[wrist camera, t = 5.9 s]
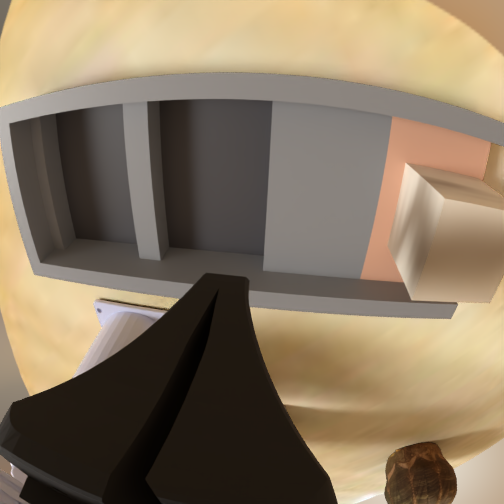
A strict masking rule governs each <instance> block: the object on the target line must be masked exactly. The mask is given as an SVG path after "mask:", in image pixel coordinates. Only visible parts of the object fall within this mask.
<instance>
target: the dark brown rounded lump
mask: <svg viewBox="0 0 504 504" xmlns="http://www.w3.org/2000/svg"><path fill="white" fill-rule="evenodd" d="M385 471H386V479H387V483H386V487H385V492H384V493H385V498H386V501H387V503H388V504H451V503H452V502H453V500H454V498H455V495H456V492H457V479H456V475H455V473H454V469H453V468H452V466H451V465H450V464H449V463H448V462H447V461H446V459H445V458H444V457H443V455H442V452H441V450H440V448H439V447H438V446H437V445H436V444H434V443H430V442H427V443H418V444H414V445H411V446H407V447H404V448H401V449H398V450H396V452H394V453H393V454H392V455H391V456H390V457H389V458H388V461H387V464H386V470H385Z"/></svg>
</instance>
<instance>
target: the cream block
mask: <svg viewBox="0 0 504 504" xmlns="http://www.w3.org/2000/svg"><path fill="white" fill-rule="evenodd" d="M387 246H388V248H389V250H390V252H391V254H392V257H393V259H394V261H395V263H396V265H397V268H398V270H399V272H400V274H401V277H402V279H403V281H404V283H405V286H406V288H407V291H408V293H409V295H410V298H411V300H417V301H439V302H466V303H490V302H491V300H492V298H493V296H494V294H495V292H496V290H497V288H498V286H499V284H500V282H501V280H502V278H503V275H504V197H503V196H502V195H500V194H499V193H498V192H497V191H495V190H494V189H493V188H491V187H490V186H489V185H487V184H486V183H485V182H483V181H482V180H480V179H479V178H476V177H472V176H467V175H463V174H459V173H454V172H450V171H445V170H441V169H436V168H431V167H426V166H421V165H416V164H410V163H405V169H404V174H403V179H402V184H401V189H400V194H399V198H398V203H397V207H396V212H395V216H394V220H393V224H392V229H391V233H390V237H389V240H388V244H387Z"/></svg>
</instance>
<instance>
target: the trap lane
mask: <svg viewBox="0 0 504 504" xmlns="http://www.w3.org/2000/svg"><path fill="white" fill-rule="evenodd" d="M0 142H1V149H2V155H3V161H4V166H5V172H6V177H7V182H8V186H9V191H10V195H11V199H12V204H13V208H14V211H15V215H16V219H17V223H18V226H19V230H20V233H21V236H22V240H23V243H24V246H25V249H26V252H27V255H28V258H29V261H30V264H31V267H32V270H33V272H34V275H38V276H43V277H48V278H54V279H59V280H64V281H70V282H75V283H81V284H87V285H93V286H99V287H105V288H111V289H117V290H123V291H130V292H137V293H143V294H150V295H157V296H164V297H172V298H179V299H181V298H182V297H183V295H184V294H185V293H186V292H187V291H188V290H189V289H190V288H191V287H192V286H193V285H194V284H195V283H196V282H197V281H198V280H199V279H200V278H201V277H202V275H204V274H205V273H215V274H224V275H234V276H243V277H247V278H248V279H249V280H250V282H249V307H257V308H268V309H278V310H290V311H302V312H314V313H328V314H343V315H359V316H378V317H400V318H432V319H451V318H452V316H453V314H454V312H455V310H456V308H457V306H458V304H457V302H439V301H417V300H411V298H410V295H409V293H408V291H407V288H406V286H405V283H404V281H403V279H402V277H401V274H400V272H399V270H398V268H397V265H396V263H395V261H394V259H393V257H392V254H391V252H390V250H389V248H388V246H387V244H388V240H389V237H390V233H391V229H392V224H393V220H394V216H395V212H396V207H397V203H398V198H399V194H400V189H401V184H402V179H403V174H404V169H405V163H410V164H416V165H421V166H426V167H431V168H436V169H441V170H445V171H450V172H454V173H459V174H463V175H467V176H472V177H476V178H479V179H480V180H482V181H483V178H484V174H485V170H486V166H487V161H488V157H489V152H490V147H491V142H492V143H495V144H498V145H501V146H503V147H504V123H502V122H500V121H497V120H494V119H492V118H489V117H486V116H484V115H481V114H478V113H475V112H472V111H469V110H466V109H463V108H460V107H457V106H453V105H450V104H447V103H443V102H440V101H436V100H433V99H429V98H425V97H421V96H417V95H413V94H409V93H405V92H401V91H396V90H391V89H387V88H382V87H376V86H371V85H365V84H360V83H353V82H347V81H340V80H333V79H325V78H316V77H307V76H296V75H283V74H266V73H189V74H172V75H159V76H149V77H139V78H131V79H123V80H116V81H109V82H103V83H97V84H91V85H86V86H81V87H76V88H71V89H66V90H62V91H57V92H53V93H49V94H45V95H41V96H37V97H33V98H30V99H26V100H23V101H19V102H16V103H12V104H9V105H6V106H3V107H0Z"/></svg>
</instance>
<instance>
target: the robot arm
mask: <svg viewBox="0 0 504 504" xmlns="http://www.w3.org/2000/svg"><path fill="white" fill-rule="evenodd" d="M249 282H250V280H249V279H248V278H247V277H243V276H234V275H224V274H215V273H205V274H204V275H202V277H201V278H200V279H199V280H198V281H197V282H196V283H195V284H194V285H193V286H192V287H191V288H190V289H189V290H188V291H187V292H186V293H185V294H184V295H183V297H182V298H181V299H180V300H179V301H177V302H176V303H175V304H174V305H173V306H172V307H171V308H170V309H169V310H168V311H165V310H158V309H152V308H145V307H139V306H133V305H127V304H121V303H116V302H110V301H105V300H99V299H96V300H95V301H94V303H93V305H94V308H95V311H96V314H97V316H98V319H99V322H100V325H101V327H102V328H101V330H100V332H99V333H98V335H97V336H96V338H95V340H94V341H93V343H92V345H91V346H90V348H89V350H88V351H87V353H86V355H85V357H84V358H83V360H82V362H81V363H80V365H79V367H78V369H77V370H76V372H75V374H74V376H73V377H72V379H70V380H68V381H66V382H64V383H62V384H60V385H58V386H55V387H53V388H51V389H48V390H45V391H43V392H41V393H38V394H35V395H33V396H30V397H27V398H24V399H22V400H19V401H16V402H13V403H12V405H11V406H10V408H9V410H8V411H7V413H6V415H5V417H4V418H3V420H2V422H1V424H0V455H2V456H3V457H4V458H5V459H6V460H8V461H9V462H10V463H11V466H12V470H11V474H12V476H13V477H12V476H10V475H9V474H7V473H6V472H4V471H3V470H2V469H0V504H338V503H337V499H336V496H335V492H334V489H333V486H332V483H331V480H330V477H329V476H328V474H327V473H326V471H325V470H324V469H323V467H322V466H321V465H320V463H319V462H318V461H317V459H316V458H315V456H314V455H313V453H312V452H311V451H310V449H309V448H308V446H307V445H306V443H305V441H304V440H303V438H302V437H301V435H300V434H299V432H298V430H297V429H296V427H295V425H294V424H293V422H292V420H291V418H290V416H289V414H288V412H287V411H286V409H285V407H284V405H283V403H282V401H281V399H280V398H279V396H278V393H277V391H276V389H275V387H274V385H273V382H272V380H271V378H270V375H269V373H268V370H267V368H266V365H265V363H264V360H263V357H262V354H261V351H260V348H259V345H258V342H257V338H256V335H255V331H254V327H253V322H252V318H251V313H250V307H249Z"/></svg>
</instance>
